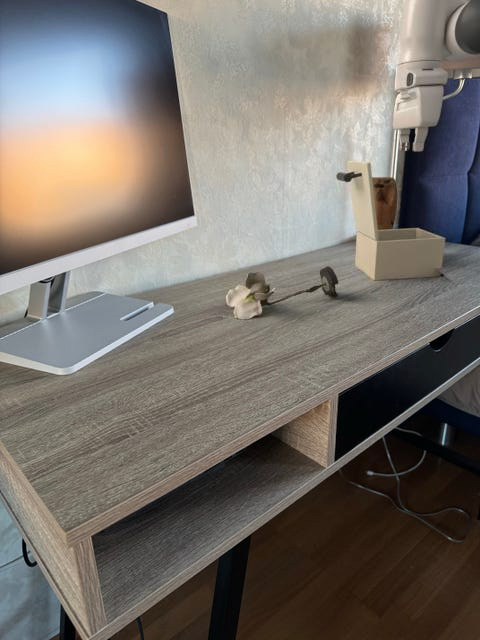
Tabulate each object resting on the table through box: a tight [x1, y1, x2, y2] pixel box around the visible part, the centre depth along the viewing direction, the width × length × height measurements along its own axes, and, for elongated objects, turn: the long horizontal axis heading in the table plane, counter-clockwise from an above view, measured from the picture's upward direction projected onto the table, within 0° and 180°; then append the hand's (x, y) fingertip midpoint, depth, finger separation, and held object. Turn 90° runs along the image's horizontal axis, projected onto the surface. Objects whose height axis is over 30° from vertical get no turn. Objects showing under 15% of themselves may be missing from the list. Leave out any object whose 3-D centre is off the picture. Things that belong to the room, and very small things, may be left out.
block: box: [372, 176, 398, 230], centre depth 129 cm, size 11×8×20 cm
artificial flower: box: [225, 266, 340, 321], centre depth 85 cm, size 9×22×10 cm, turn 107°
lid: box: [335, 160, 379, 240], centre depth 101 cm, size 16×14×5 cm
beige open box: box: [354, 227, 446, 281], centre depth 106 cm, size 16×14×9 cm
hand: (410, 151), depth 98 cm, fingers open, 8 cm apart
